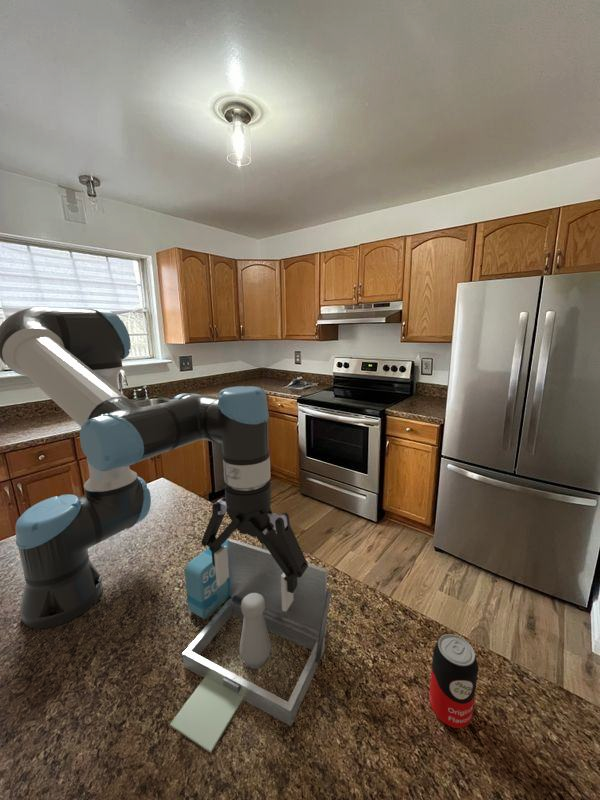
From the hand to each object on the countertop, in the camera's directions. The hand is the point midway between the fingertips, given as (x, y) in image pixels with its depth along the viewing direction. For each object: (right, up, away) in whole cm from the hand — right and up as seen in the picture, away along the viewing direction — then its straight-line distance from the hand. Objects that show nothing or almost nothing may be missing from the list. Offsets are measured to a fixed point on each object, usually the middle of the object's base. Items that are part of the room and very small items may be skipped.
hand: (253, 592), depth 60 cm
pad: (-7, -16, -6) cm, 18 cm away
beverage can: (+32, -16, -6) cm, 36 cm away
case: (0, -14, +3) cm, 14 cm away
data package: (-11, -11, +17) cm, 23 cm away
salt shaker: (0, -14, +3) cm, 15 cm away
